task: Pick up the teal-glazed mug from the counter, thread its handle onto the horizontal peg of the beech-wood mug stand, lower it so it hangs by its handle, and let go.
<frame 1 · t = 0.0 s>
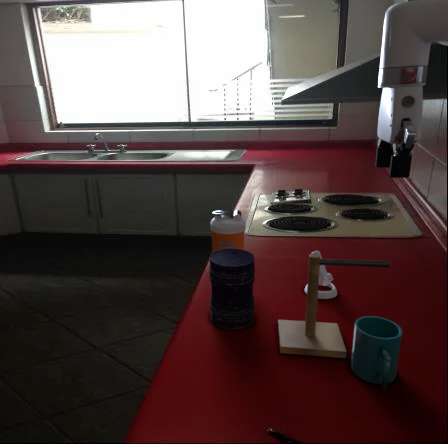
hand: (391, 172, 80), 33 cm above the counter, tool pointing down, fingers open, 9 cm apart
mug stand: (309, 340, 85), on the counter
vr controller: (320, 292, 104), on the counter
shaker bottle: (228, 284, 111), on the counter
mug: (373, 370, 75), on the counter
storage jar: (232, 318, 95), on the counter
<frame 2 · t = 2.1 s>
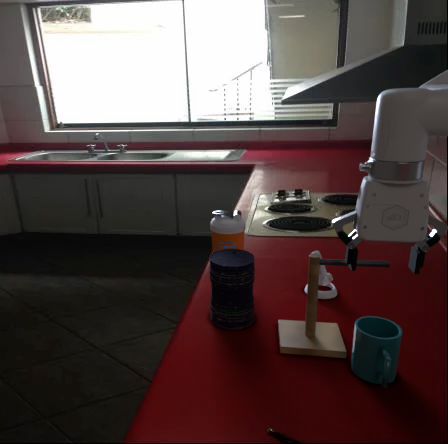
hand: (382, 269, 71), 19 cm above the counter, tool pointing down, fingers open, 9 cm apart
nothing on the counter moved.
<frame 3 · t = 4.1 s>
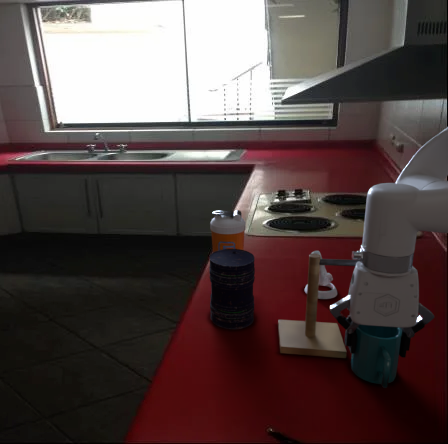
hand: (375, 350, 74), 4 cm above the counter, tool pointing down, fingers closed on mug, 7 cm apart
mug: (373, 370, 75), on the counter, touching gripper
everything else where it was.
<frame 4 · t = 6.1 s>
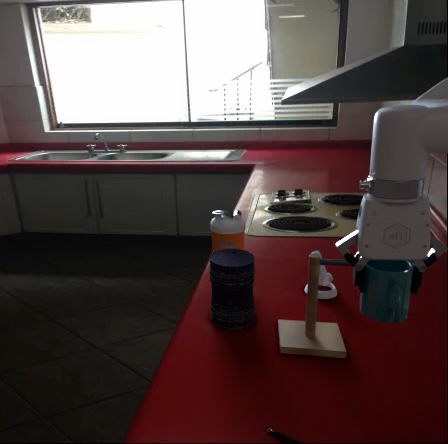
hand: (385, 289, 70), 16 cm above the counter, tool pointing down, fingers closed on mug, 7 cm apart
mug: (383, 311, 72), point 12 cm above the counter, touching gripper
everything else where it was.
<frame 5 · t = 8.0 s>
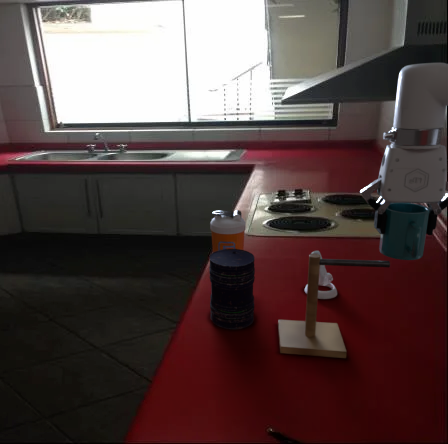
hand: (403, 231, 79), 22 cm above the counter, tool pointing down, fingers closed on mug, 7 cm apart
mug: (400, 252, 80), point 18 cm above the counter, touching gripper
everything else where it was.
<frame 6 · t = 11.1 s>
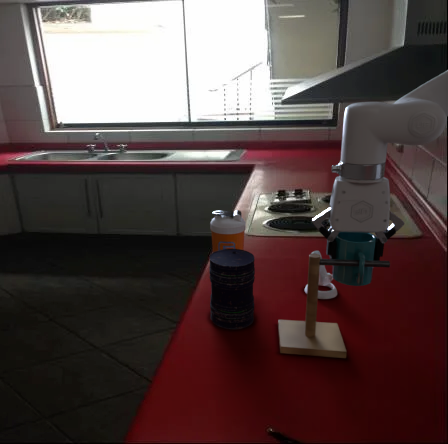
hand: (353, 258, 83), 16 cm above the counter, tool pointing down, fingers closed on mug, 7 cm apart
mug: (351, 277, 84), point 12 cm above the counter, touching gripper
everything else where it was.
when the fingers open (16 cm above the counter, at t = 11.9 s): mug drops 1 cm and tips over, resting on mug stand.
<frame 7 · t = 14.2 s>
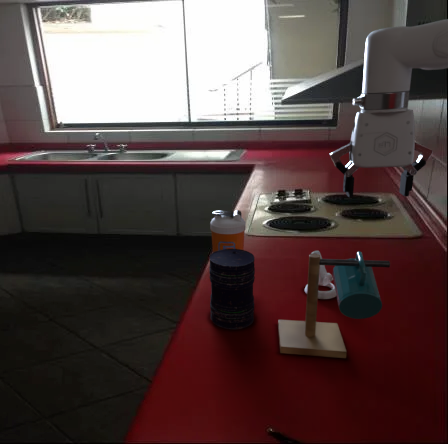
hand: (376, 195, 80), 29 cm above the counter, tool pointing down, fingers open, 9 cm apart
mug: (360, 306, 77), point 10 cm above the counter, tilted 68°, touching mug stand
everything else where it was.
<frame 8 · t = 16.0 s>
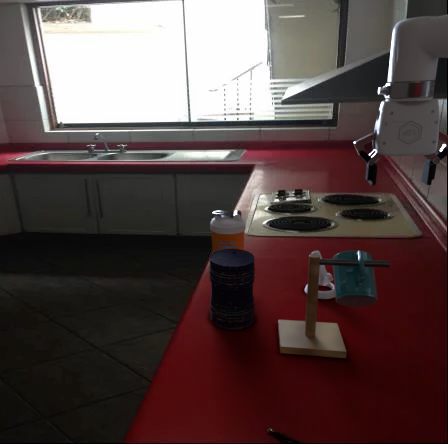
hand: (398, 183, 81), 30 cm above the counter, tool pointing down, fingers open, 9 cm apart
mug: (356, 301, 80), point 10 cm above the counter, tilted 46°, touching mug stand
everything else where it was.
at the end: mug touching mug stand; mug point 9.8 cm above the counter; mug 8.3 cm from the mug stand (horizontally) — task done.
